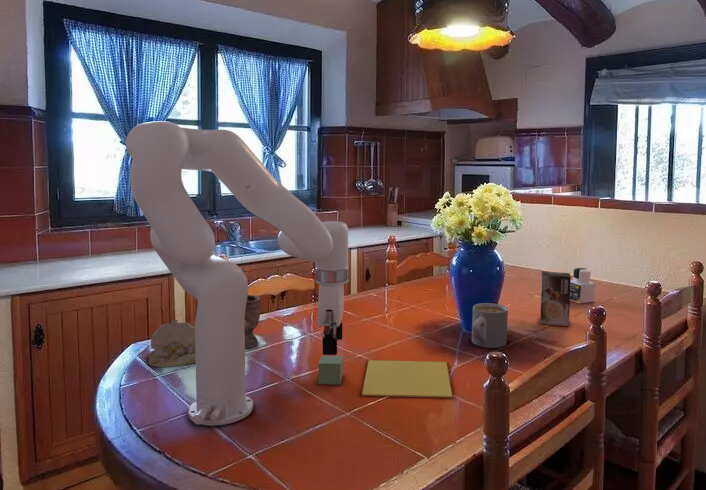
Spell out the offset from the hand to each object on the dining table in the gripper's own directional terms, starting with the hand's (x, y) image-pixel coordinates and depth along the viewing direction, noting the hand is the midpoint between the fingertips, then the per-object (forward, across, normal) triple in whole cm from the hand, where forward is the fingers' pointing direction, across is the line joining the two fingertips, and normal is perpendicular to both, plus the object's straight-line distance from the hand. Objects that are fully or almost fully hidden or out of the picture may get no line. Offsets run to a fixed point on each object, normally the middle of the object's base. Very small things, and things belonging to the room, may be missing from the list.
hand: (333, 346), depth 130 cm
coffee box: (+10, -48, +64) cm, 81 cm away
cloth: (+8, -2, +18) cm, 19 cm away
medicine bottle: (+11, -76, +82) cm, 112 cm away
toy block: (+8, 0, 0) cm, 8 cm away
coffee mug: (+9, -28, +40) cm, 49 cm away
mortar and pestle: (+8, -23, -28) cm, 37 cm away
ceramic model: (+8, -11, -42) cm, 44 cm away
